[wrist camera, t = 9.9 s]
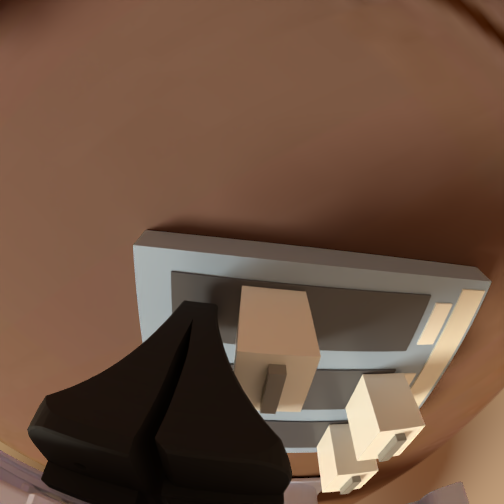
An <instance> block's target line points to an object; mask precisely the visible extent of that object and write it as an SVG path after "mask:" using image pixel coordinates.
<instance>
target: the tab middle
mask: <svg viewBox="0 0 504 504" xmlns="http://www.w3.org/2000/svg"><path fill="white" fill-rule="evenodd" d="M345 409H346V413H347V418H348V422H349V426H350V431H351V435H352V440H353V445H354V449H355V454H356V459H357V461H362V460H371V459H379V462H382V461H388V460H389V459H390V458H391V457H392V456H398V455H400V454H401V453H402V452H403V451H404V449H405V448H406V447H407V446H408V445H409V444H410V443H411V442H412V441H413V439H414V438H415V437H416V436H417V435H418V434H419V432H420V431H421V430H422V429H423V428H424V426H425V423H424V421H423V418H422V416H421V413H420V411H419V408H418V406H417V403H416V401H415V399H414V396H413V394H412V391H411V389H410V387H409V385H408V382H407V380H406V378H405V375H404V373H390V374H362V376H361V378H360V380H359V382H358V384H357V386H356V388H355V390H354V392H353V394H352V396H351V398H350V400H349V402H348V404H347V406H346V407H345Z"/></svg>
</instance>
